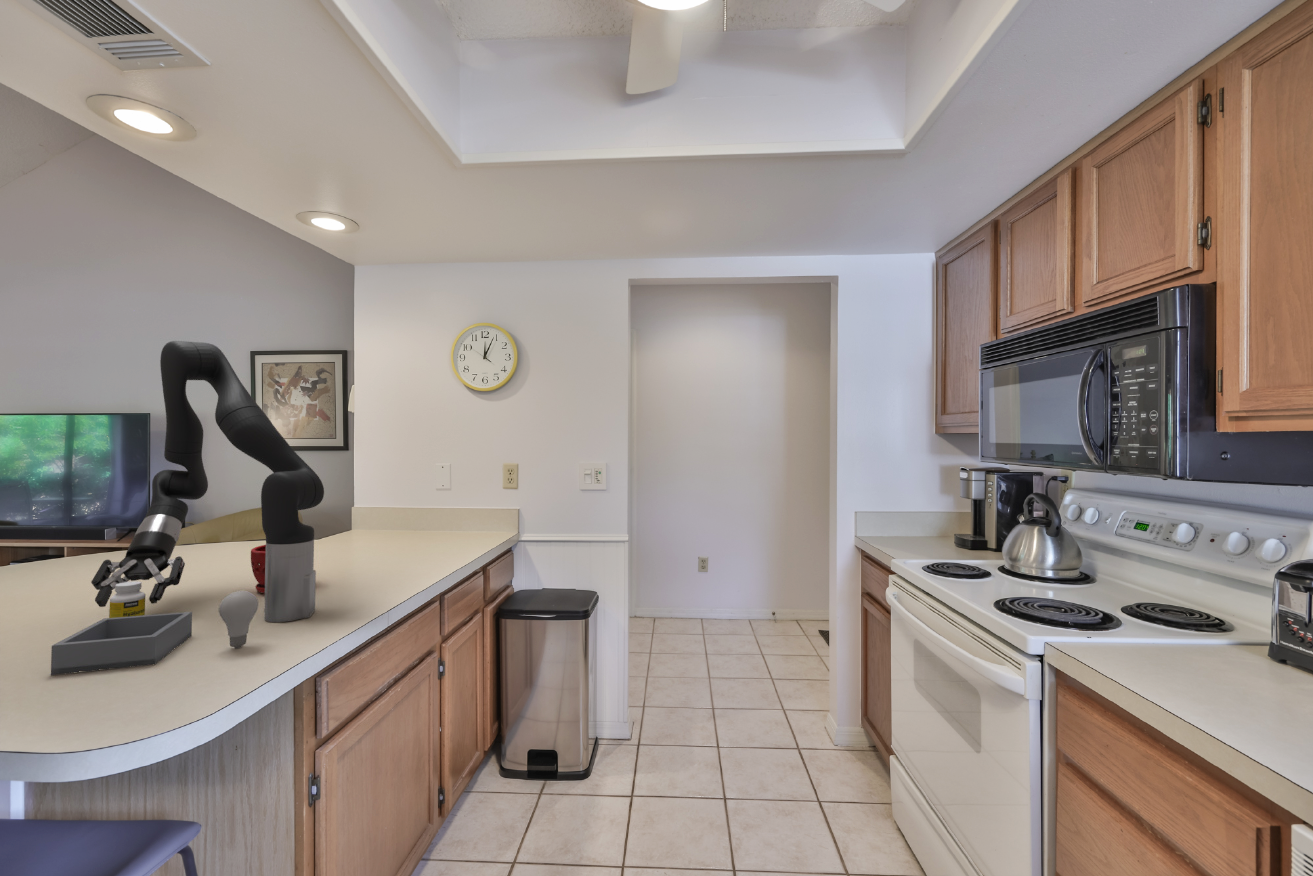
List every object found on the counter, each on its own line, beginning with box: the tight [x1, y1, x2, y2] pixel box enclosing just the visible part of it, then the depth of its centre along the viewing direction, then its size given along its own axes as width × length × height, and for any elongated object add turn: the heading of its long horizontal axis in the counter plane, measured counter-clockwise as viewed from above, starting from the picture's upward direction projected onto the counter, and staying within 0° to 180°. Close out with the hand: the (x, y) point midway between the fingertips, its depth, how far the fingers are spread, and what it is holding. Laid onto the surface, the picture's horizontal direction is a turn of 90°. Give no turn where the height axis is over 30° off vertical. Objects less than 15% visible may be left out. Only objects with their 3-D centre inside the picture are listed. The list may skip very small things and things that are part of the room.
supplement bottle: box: [108, 580, 146, 618], centre depth 115 cm, size 5×5×10 cm
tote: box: [50, 611, 193, 676], centre depth 102 cm, size 14×15×5 cm
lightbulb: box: [218, 590, 259, 649], centre depth 106 cm, size 6×6×11 cm
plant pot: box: [250, 544, 266, 594], centre depth 147 cm, size 13×13×12 cm
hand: (126, 603), depth 115 cm, fingers open, 8 cm apart
